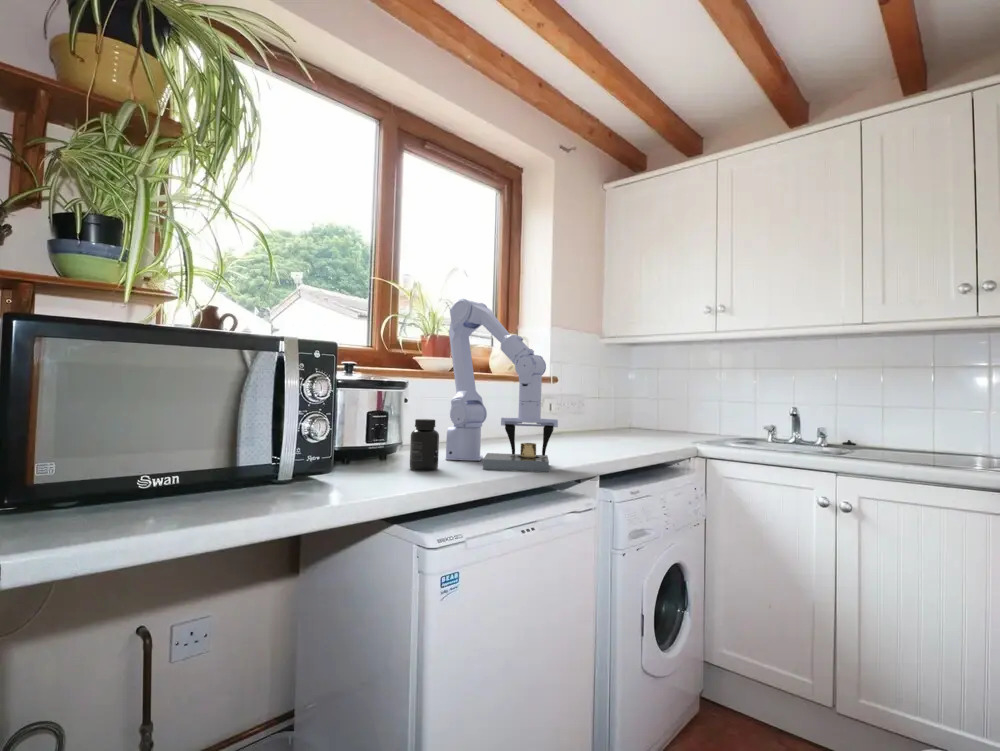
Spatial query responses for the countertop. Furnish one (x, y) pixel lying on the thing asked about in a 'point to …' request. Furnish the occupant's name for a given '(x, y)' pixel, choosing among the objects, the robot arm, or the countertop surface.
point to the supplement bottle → (424, 446)
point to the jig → (515, 462)
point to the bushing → (528, 450)
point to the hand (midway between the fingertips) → (528, 454)
